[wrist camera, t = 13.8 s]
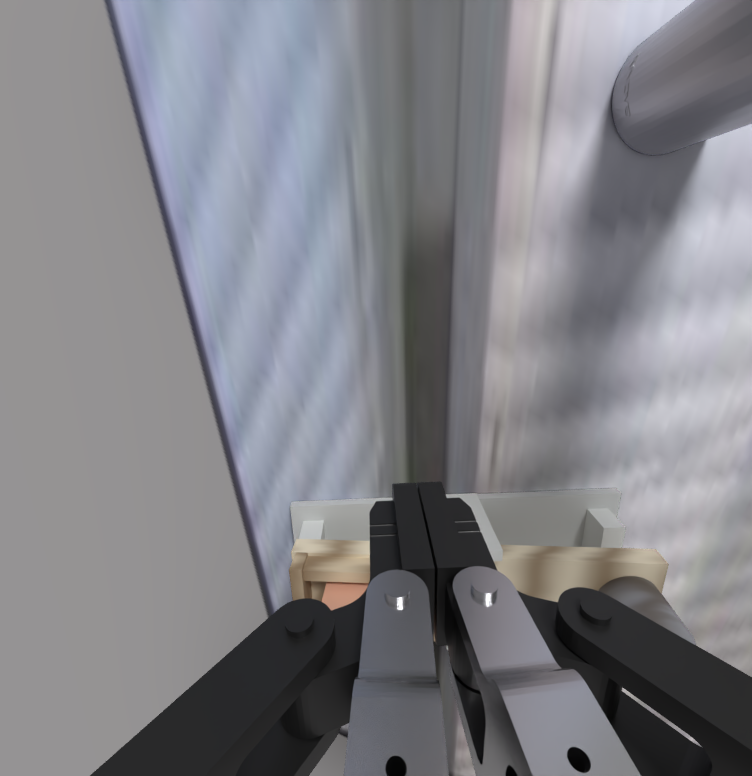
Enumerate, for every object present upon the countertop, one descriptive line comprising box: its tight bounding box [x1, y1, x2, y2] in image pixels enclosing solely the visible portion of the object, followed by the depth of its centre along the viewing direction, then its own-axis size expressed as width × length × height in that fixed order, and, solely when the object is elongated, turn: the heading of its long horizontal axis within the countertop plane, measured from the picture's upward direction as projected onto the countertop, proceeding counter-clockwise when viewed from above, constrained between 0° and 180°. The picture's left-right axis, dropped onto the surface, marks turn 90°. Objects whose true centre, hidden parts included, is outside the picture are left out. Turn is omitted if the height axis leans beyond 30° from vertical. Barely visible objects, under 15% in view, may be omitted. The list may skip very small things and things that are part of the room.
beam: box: [289, 539, 696, 645], centre depth 38 cm, size 36×9×7 cm, turn 92°
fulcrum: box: [290, 488, 626, 650], centre depth 43 cm, size 38×12×10 cm, turn 92°
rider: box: [322, 582, 369, 610], centre depth 38 cm, size 6×5×5 cm
